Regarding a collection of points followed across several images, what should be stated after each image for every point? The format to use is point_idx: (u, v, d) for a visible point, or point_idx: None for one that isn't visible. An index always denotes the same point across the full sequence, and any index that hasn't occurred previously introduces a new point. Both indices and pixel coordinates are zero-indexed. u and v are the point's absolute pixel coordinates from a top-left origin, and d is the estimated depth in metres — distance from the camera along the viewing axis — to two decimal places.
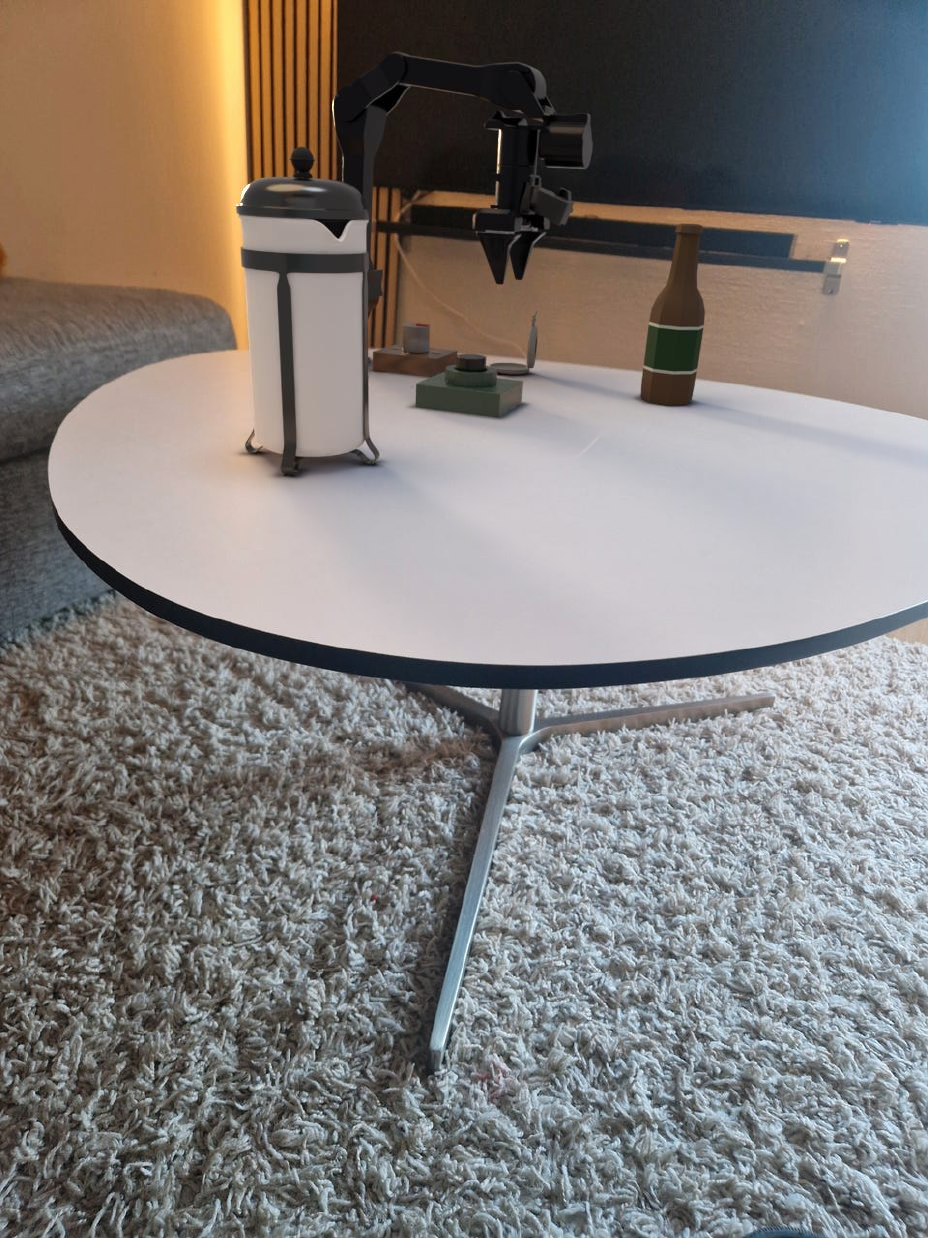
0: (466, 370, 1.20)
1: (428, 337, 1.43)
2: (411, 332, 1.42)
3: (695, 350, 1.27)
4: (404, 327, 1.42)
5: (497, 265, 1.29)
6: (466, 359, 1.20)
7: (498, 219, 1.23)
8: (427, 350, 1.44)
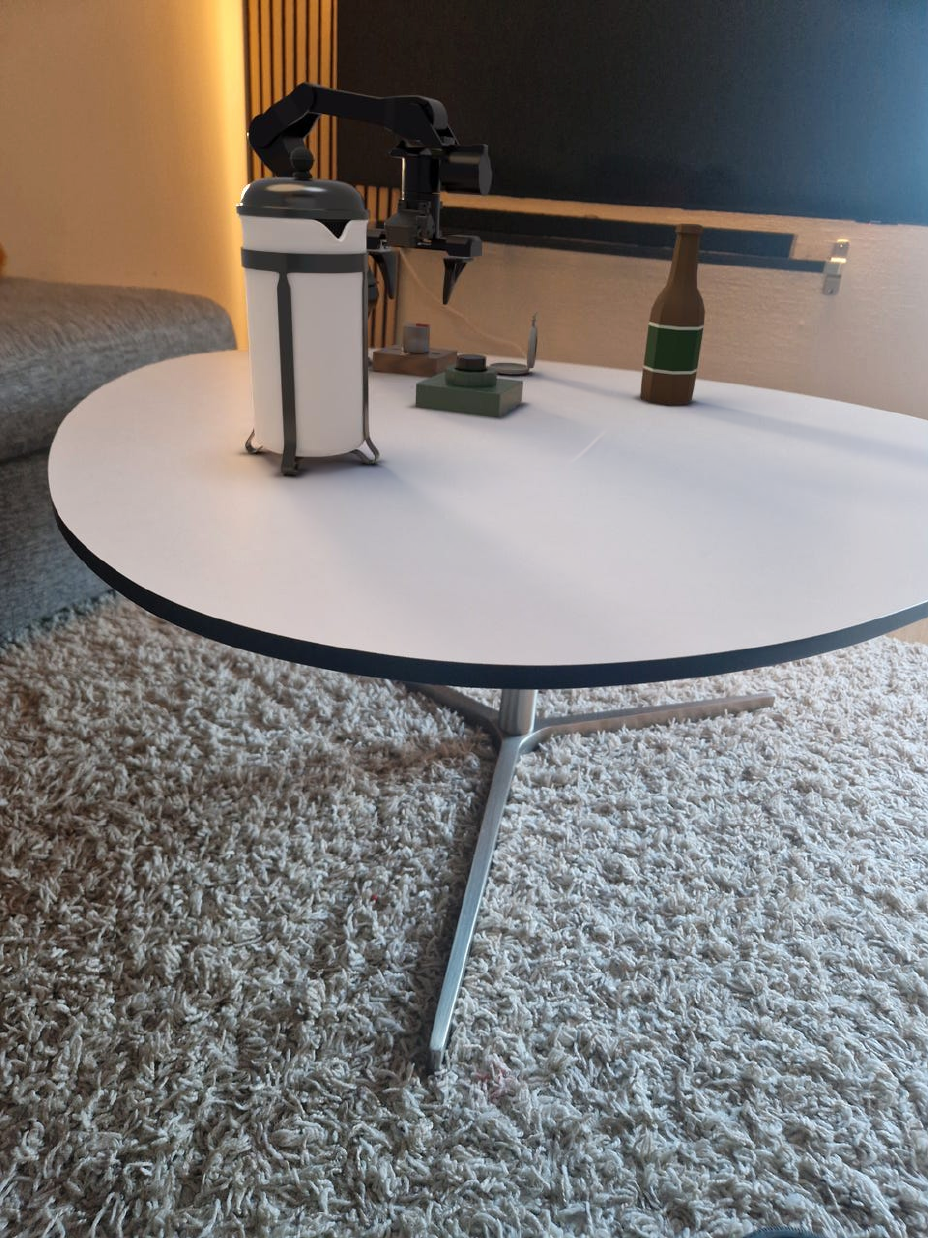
0: (466, 370, 1.20)
1: (428, 337, 1.43)
2: (411, 332, 1.42)
3: (695, 350, 1.27)
4: (404, 327, 1.42)
5: None
6: (466, 359, 1.20)
7: None
8: (427, 350, 1.44)
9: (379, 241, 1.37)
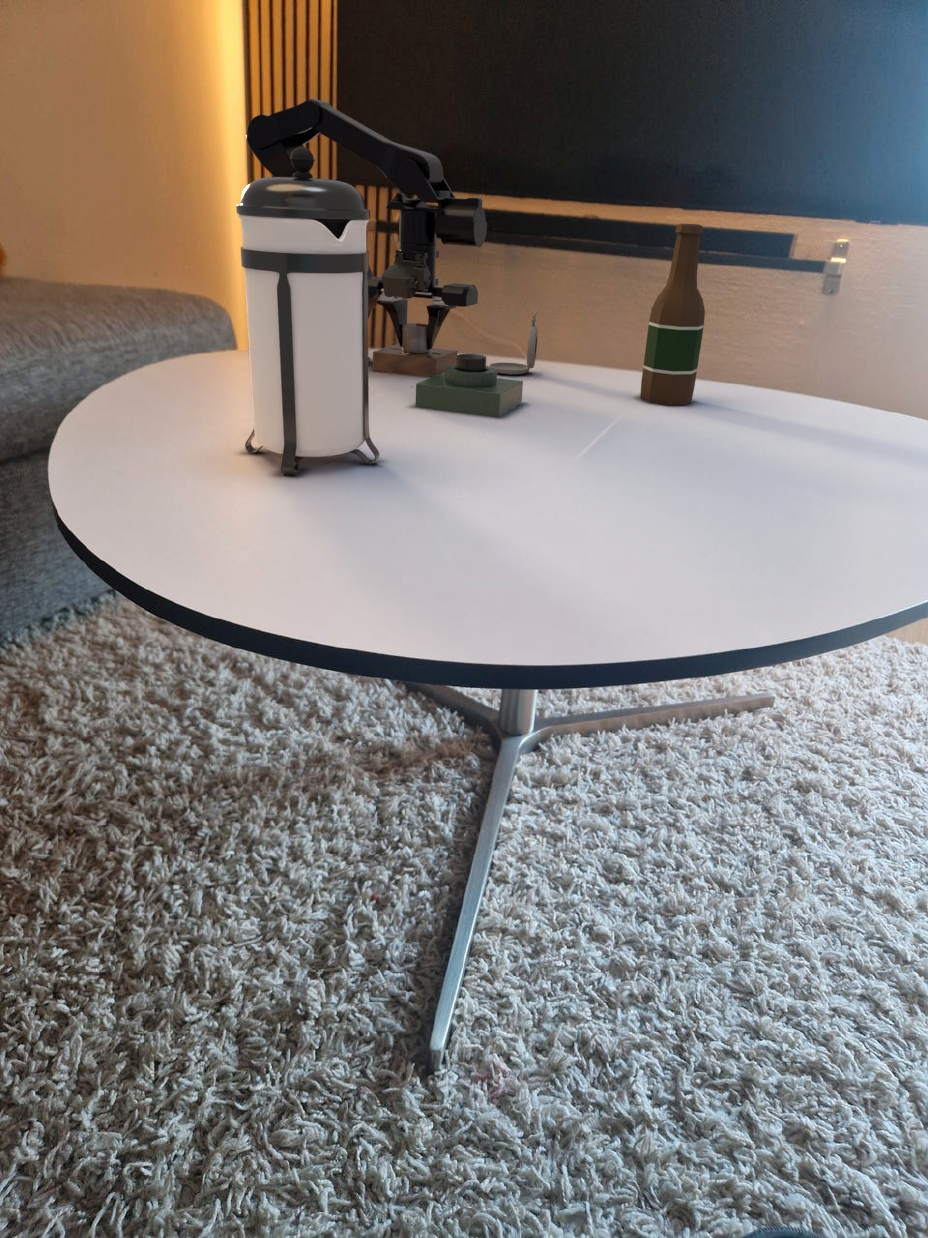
0: (466, 370, 1.20)
1: None
2: (411, 332, 1.42)
3: (695, 350, 1.27)
4: (404, 327, 1.42)
5: None
6: (466, 359, 1.20)
7: None
8: (427, 350, 1.44)
9: (377, 290, 1.40)
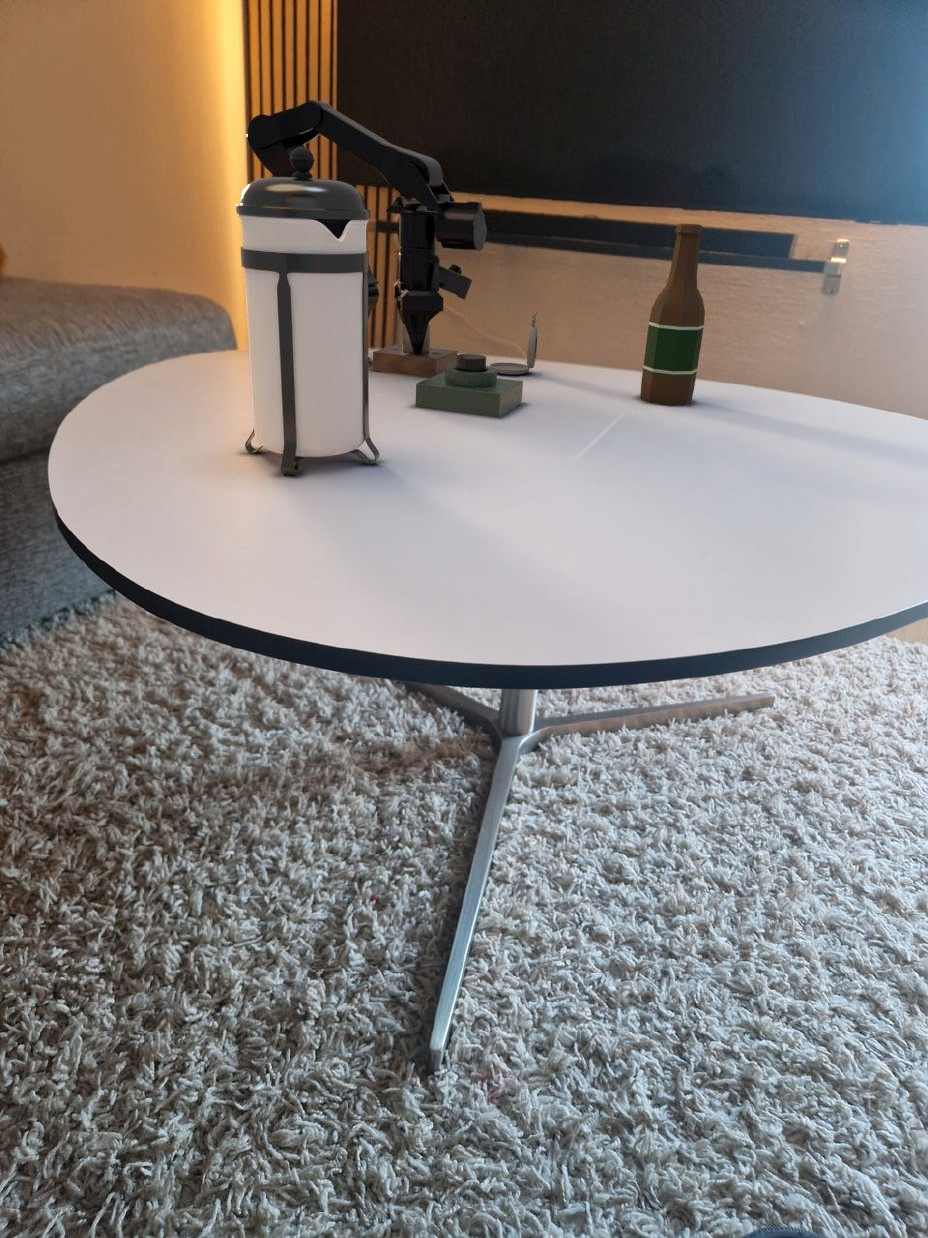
0: (466, 370, 1.20)
1: None
2: None
3: (695, 350, 1.27)
4: (428, 328, 1.42)
5: (417, 337, 1.41)
6: (466, 359, 1.20)
7: (428, 301, 1.33)
8: None
9: None
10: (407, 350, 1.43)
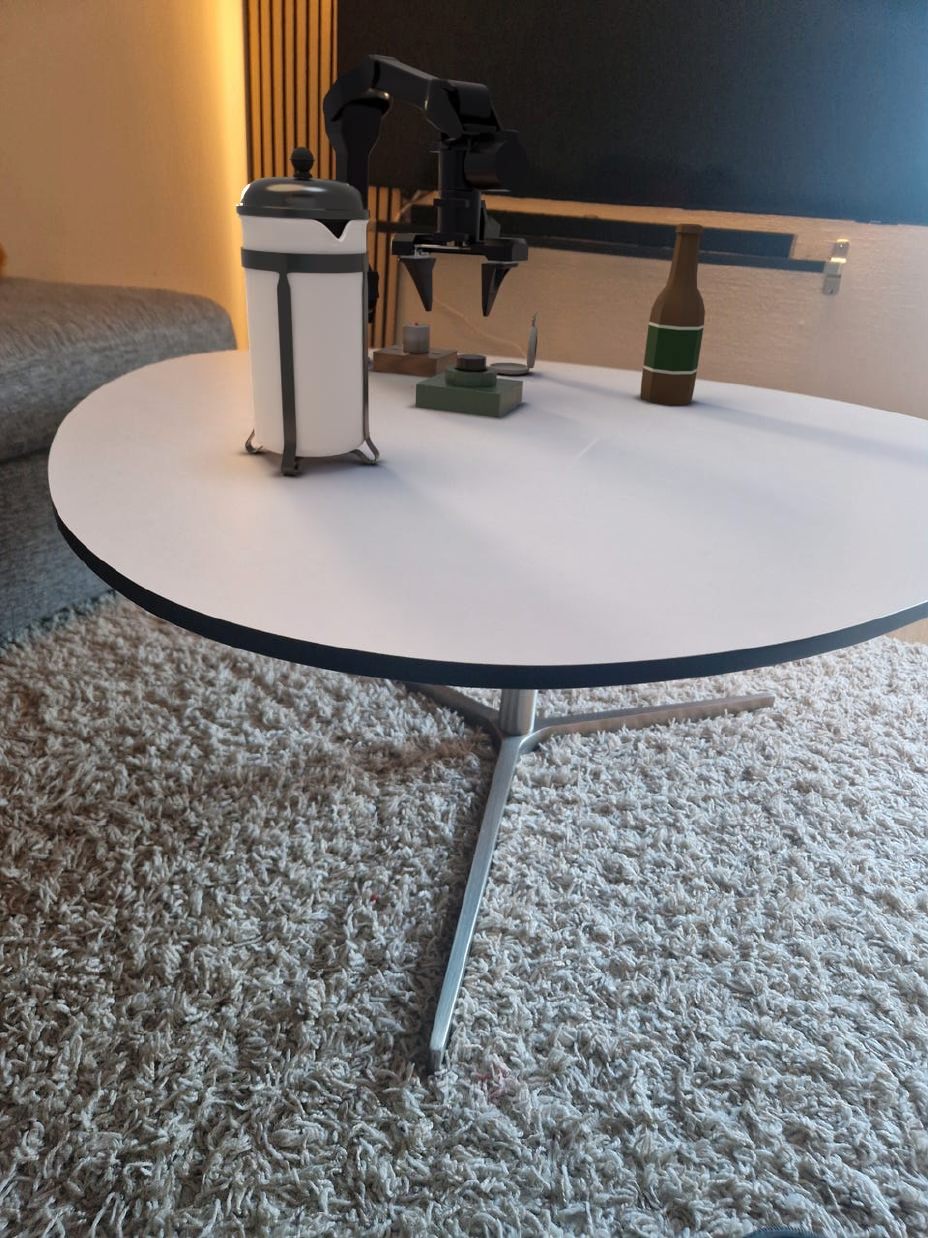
0: (466, 370, 1.20)
1: None
2: None
3: (695, 350, 1.27)
4: (428, 328, 1.42)
5: (492, 297, 1.22)
6: (466, 359, 1.20)
7: (523, 249, 1.19)
8: None
9: None
10: (407, 350, 1.43)
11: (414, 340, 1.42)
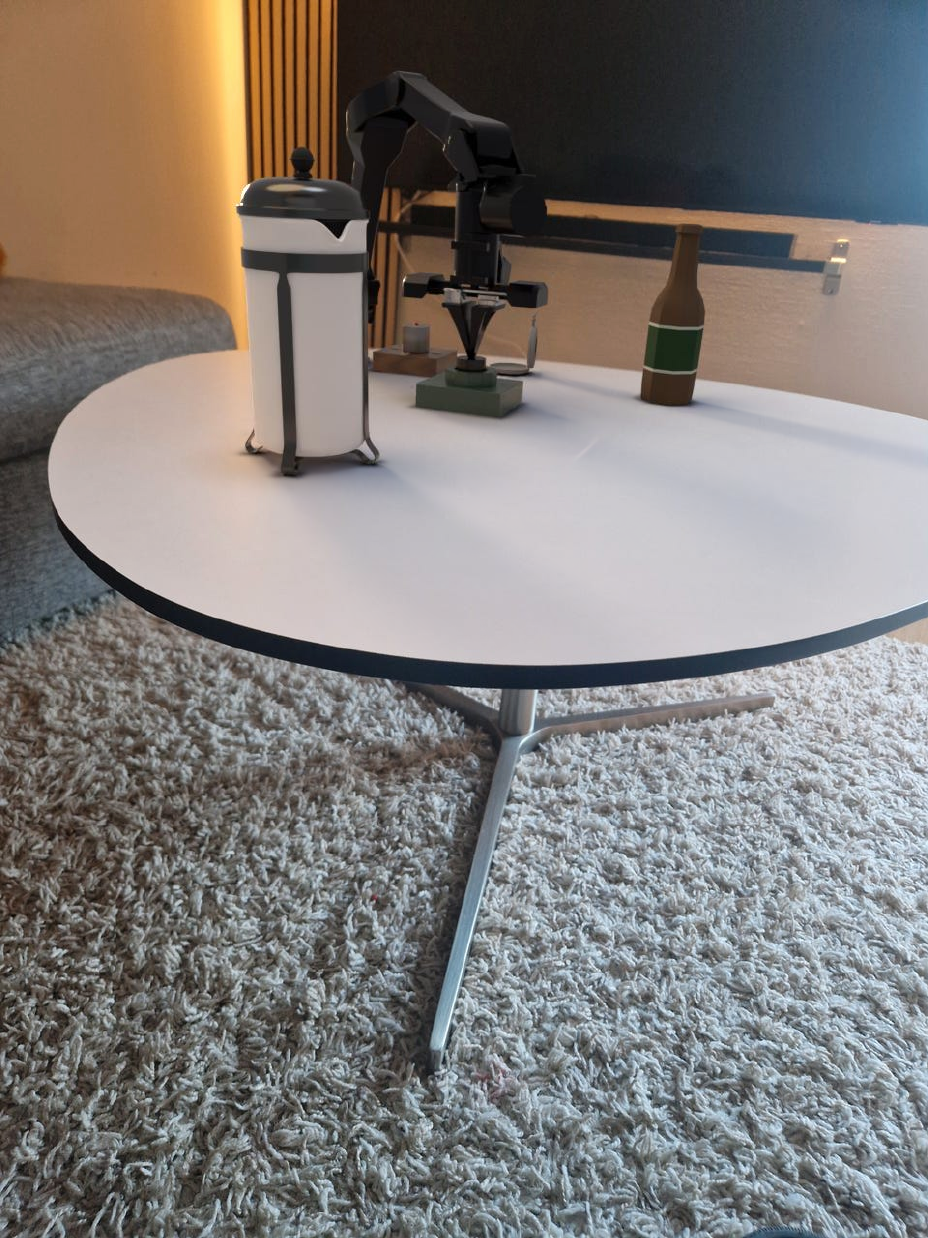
0: (466, 371, 1.20)
1: None
2: None
3: (695, 350, 1.27)
4: (428, 328, 1.42)
5: (480, 338, 1.20)
6: (466, 360, 1.20)
7: (544, 294, 1.15)
8: None
9: None
10: (407, 350, 1.43)
11: (414, 340, 1.42)
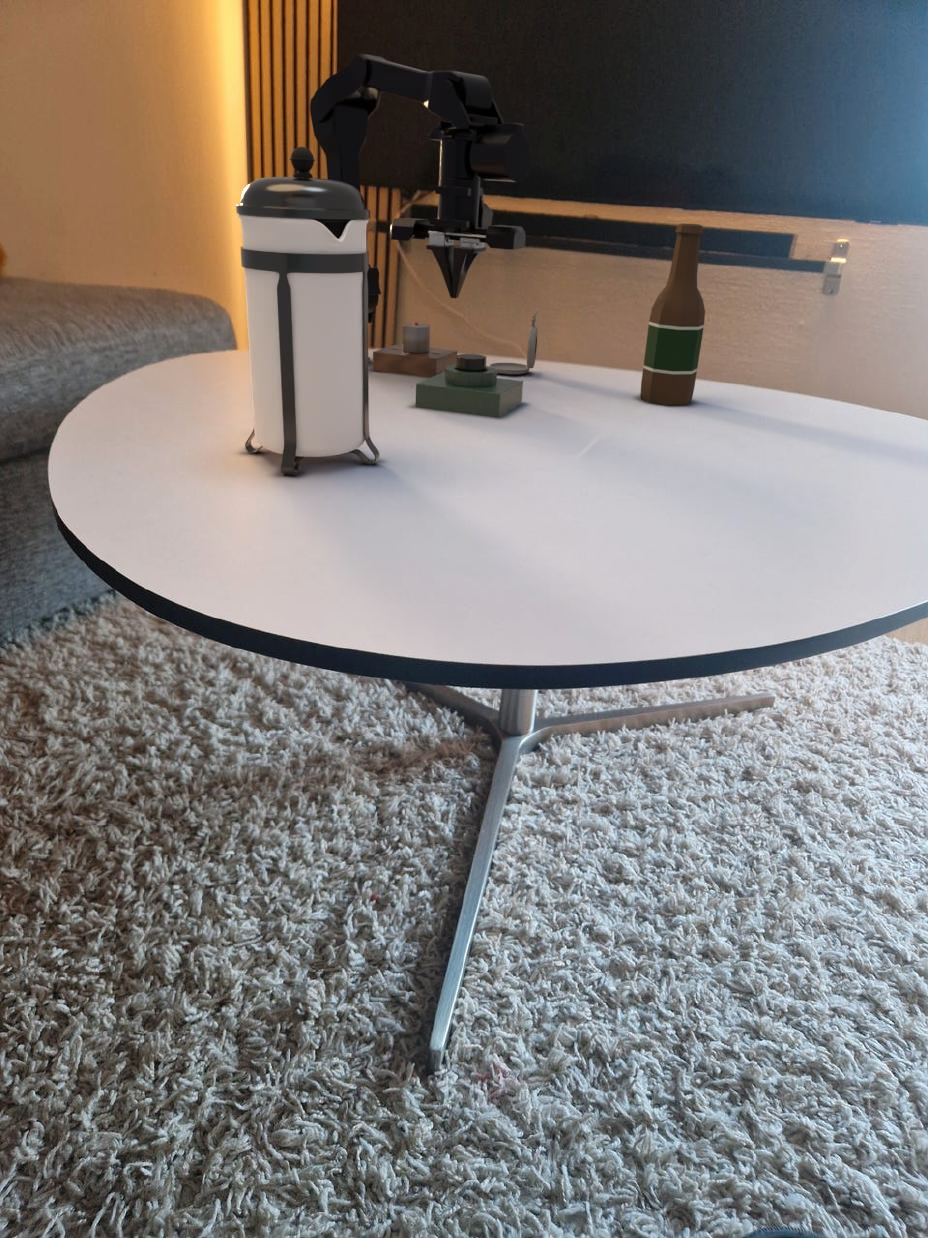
0: (466, 370, 1.20)
1: None
2: None
3: (695, 350, 1.27)
4: (428, 328, 1.42)
5: (462, 279, 1.29)
6: (466, 359, 1.20)
7: (521, 237, 1.24)
8: None
9: None
10: (407, 350, 1.43)
11: (414, 340, 1.42)
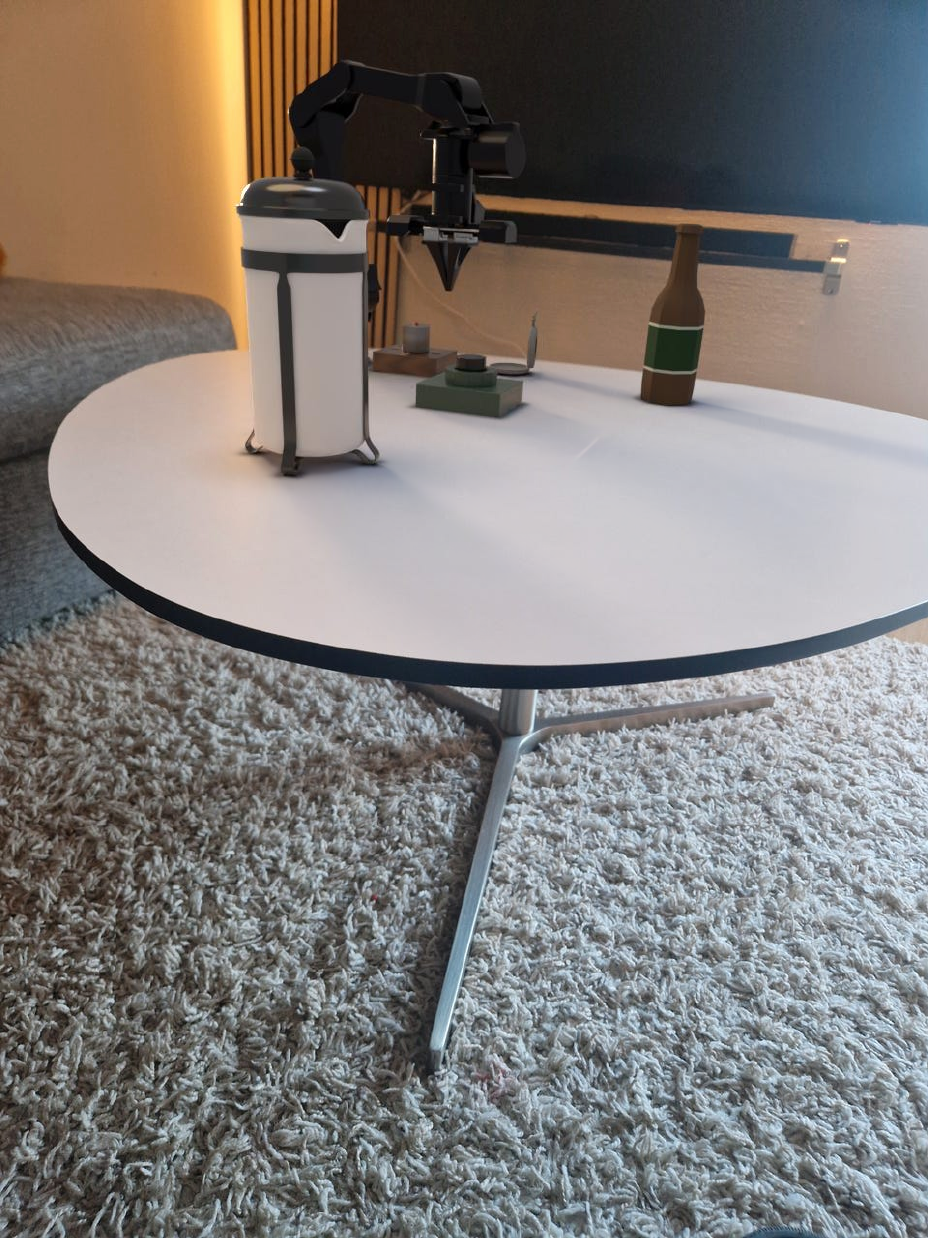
0: (466, 370, 1.20)
1: None
2: None
3: (695, 350, 1.27)
4: (428, 328, 1.42)
5: (456, 273, 1.33)
6: (466, 359, 1.20)
7: (513, 231, 1.29)
8: None
9: None
10: (407, 350, 1.43)
11: (414, 340, 1.42)
